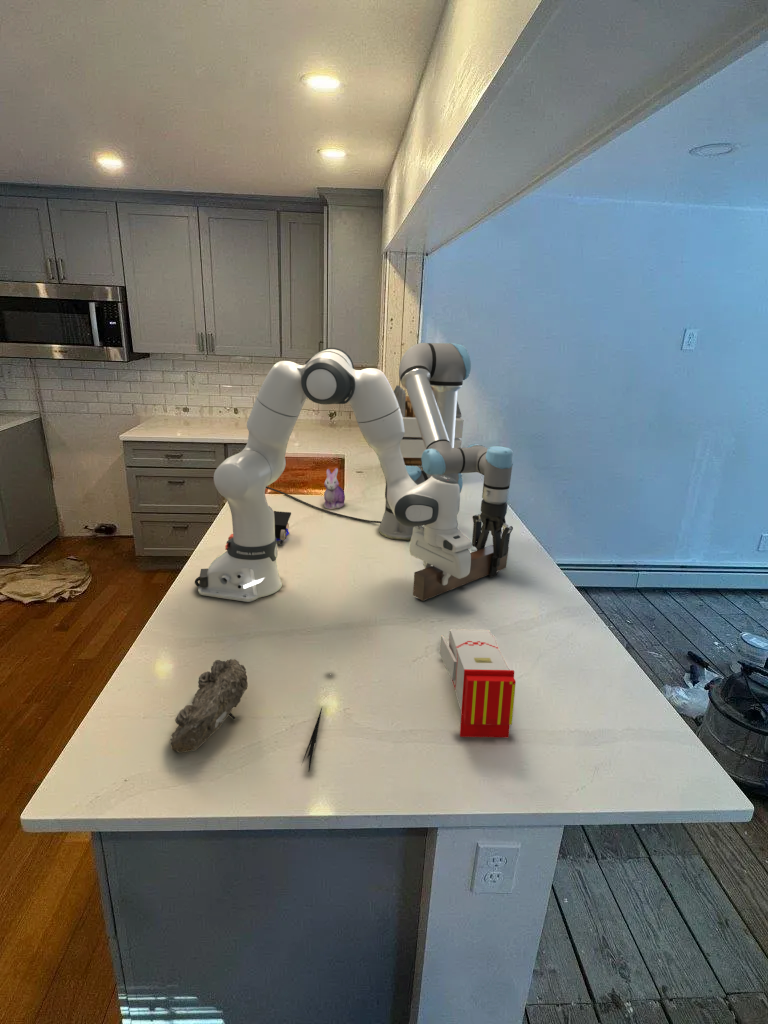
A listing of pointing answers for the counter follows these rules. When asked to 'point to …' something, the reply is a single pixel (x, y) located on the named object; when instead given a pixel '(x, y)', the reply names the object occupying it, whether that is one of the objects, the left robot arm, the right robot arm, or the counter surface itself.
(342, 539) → the counter surface
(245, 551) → the left robot arm
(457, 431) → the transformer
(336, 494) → the figurine
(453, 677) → the toy
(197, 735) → the fossil
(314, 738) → the feather
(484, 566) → the walnut rail
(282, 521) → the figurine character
